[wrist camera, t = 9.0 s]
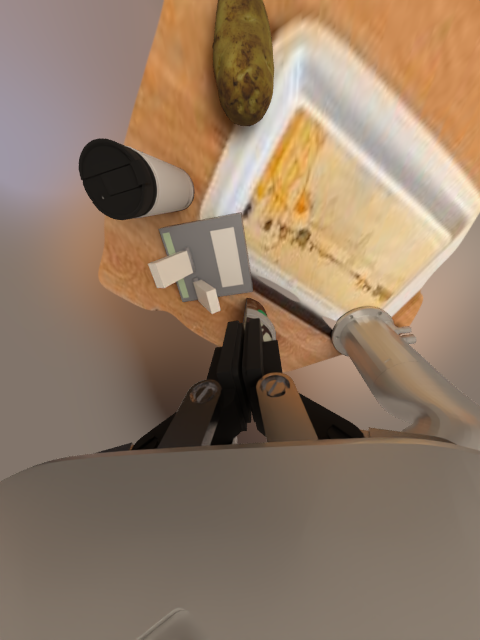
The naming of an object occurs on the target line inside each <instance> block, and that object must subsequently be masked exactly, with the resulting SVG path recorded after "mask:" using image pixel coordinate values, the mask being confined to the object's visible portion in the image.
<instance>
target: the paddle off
mask: <svg viewBox="0 0 480 640" xmlns="http://www.w3.org/2000/svg"><path fill="white" fill-rule="evenodd" d="M193 281H194V282H193V284H194V287H195V290H196V294H197V297H198V301H199V302H200V303H201V304H202V305H203V306H204V307H205V308H206V309H207V310H208V311H209V312H210V313H211V314H213V313H216V312H218V311H221V310H220V305H219V301H218V297H217V293H216V289H215V288H213V287H212V286H210V285H209V284H207V283H206V282H204V281H203V280H199V281H198V277H195V278H193Z"/></svg>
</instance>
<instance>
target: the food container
mask: <svg viewBox="0 0 480 640" xmlns="http://www.w3.org/2000/svg"><path fill="white" fill-rule="evenodd" d="M254 318H260V322H261V328H262V334H263V339H264V341H272V340H276V332H275V328H274V326H273V324H272V323H271V321H270V320H269V319H268V318H267V314H266V311H265V309H264V307H263V306H262V305H261V304H260V303H259V302H257V301H256V300H253V299H251V298H247V300H246V306H245V313H244V319H243V325H244V329H245V324H246V322H249V319H254Z"/></svg>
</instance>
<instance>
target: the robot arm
mask: <svg viewBox="0 0 480 640" xmlns="http://www.w3.org/2000/svg"><path fill="white" fill-rule="evenodd" d="M410 332H411V327H410V326H404V327H396V326H395V325H394V322H393V320H392V318H391V316H390V315H389V314H388V313H386V312H385V311H384V310H382V309H380V308H376V307H361V308H357V309H354V310H352V311H350V312H348V313H346V314H345V315H344V316H342V317H341V318H340V319H339V320H338V321H337V323H336V324H335V326H334V328H333V331H332V342H333V344H334V346H335V348H336V349H337V350H338V351H339V352H340V353H341V354H343V355H345V356H349V357H350V358H351V360H352V361H353V363H354V365H355V366H356V368H357V369H358V371H359V373H360V374H361V376H362V378H363V379H364V381H365V382H366V384H367V386H368V387H369V389H370V390H371V392H372V394H373V395H374V397H375V398H376V400H377V401H378V403H379V404H380V406H381V407H382V408H383V409H384V410H385V411H387V412H388V413H389V414H391V415H393V416H395V417H397V418H398V419H401V420H403V421H405V422H408V423H411V424H412V425H411V426H409V427H407V428H405V429H404V430H402V431H401V432H399V431H392V430H384V429H376V428H370V427H369V430H368V431H366V430H360V429H359V428H358V427H356V426H355V425H354V424H352V423H351V422H349V421H347V420H346V419H344V418H342V417H340V416H339V415H337V414H335V413H333V412H331V411H330V410H328V409H326V408H324V407H323V406H321V405H319V404H317V403H316V402H314V401H312V400H310V399H309V398H307V397H305V396H303V395H302V394H300V393H298V391H297V389H296V386H295V384H294V382H293V380H292V379H291V378H290V377H289V376H288V375H286V374H283V373H282V367H281V361H280V354H279V348H278V341H277V340H272V341H264V339H263V334H262V328H261V322H260V318H254V319H249V322H246V324H245V329H244V325H243V323H239V321H233V322H228V325H227V329H226V333H225V338H224V342H223V346H222V347H217V348H215V351H214V355H213V358H212V362H211V366H210V369H209V373H208V376H207V380H203V381H200V382H198V383H196V384H194V385H193V386H192V387H191V388H190V389H189V391H188V392H187V394H186V396H185V398H184V399H183V401H182V403H181V405H180V407H179V409H178V411H177V412H176V413H174V414H173V415H172V416H170V417H169V418H167V419H166V420H165V421H163V422H162V423H161V424H159V425H158V426H157V427H155V428H154V429H152V430H151V431H150V432H148V433H147V434H146V435H144V436H143V437H142V438H140V439H139V440H138V441H137V442H136V443H135V445H133V443H128V444H125V445H121V446H118V447H114V448H111V449H107V450H104V451H101V452H97V453H93V454H85V455H77V456H69V457H65V458H60V459H55V460H51V461H47V462H44V463H41V464H37V465H35V466H32V467H30V468H27V469H25V470H23V471H20V472H18V473H16V474H14V475H12V476H10V477H8V478H6V479H4V480H2V481H1V482H0V640H480V406H479V405H478V404H477V403H475V402H474V401H473V400H471V399H470V398H469V397H468V396H466V395H465V394H464V393H462V392H461V391H460V390H459V389H458V388H457V387H455V386H454V385H453V384H452V383H451V382H450V381H448V380H447V379H446V378H445V377H444V376H443V375H442V374H440V373H439V372H438V371H437V370H436V369H435V368H434V367H433V366H432V365H430V363H428V362H427V361H426V360H425V359H424V358H423V357H422V356H421V355H420V354H419V353H418V352H416V350H414V349H413V348H412V347H411V346H410V345H409V344H414V343H416V337H415V336H414V335H413V334H410V335H403V336H399V334H400V333H410ZM251 411H252V415H253V419H254V422H256V426H257V429H258V430H259V431H260V432H261V433H262V434H263V435H264V436H265V437H266V439H267V442H266V443H248V444H237V435H238V434H239V433H240V432H241V431H247V423H250V422H251Z"/></svg>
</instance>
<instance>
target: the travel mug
mask: <svg viewBox="0 0 480 640" xmlns="http://www.w3.org/2000/svg"><path fill="white" fill-rule="evenodd" d="M79 172H80V176H81V180H83V185H84V188H85V190H86V192H87V194H88V196H89V197H90V199H91V200H92V201H93V204H94V205H95V206H96V207H97V208H98V210H99V211H101V212H102V213H104V214H105V215H106V216H108V217H110V218H113V219H117V220H126V219H132V218H141V217H147V216H152V215H158V214H163V213H169V212H175V211H180V210H184V209H186V208H187V207H189V205H190V204H191V203H192V201H193V198H194V185H193V182H192V180H191V178H190V176H189V175H188V174H187V173H186V172H185V171H184V170H182V169H181V168H178V167H176V166H174V165H171V164H169V163H167V162H164V161H162V160H159V159H157V158H155V157H152V156H150V155H148V154H145V153H143V152H140V151H138V150H136V149H133V148H131V147H128V146H125V145H122V144H119V143H117V142H115V141H112V140H109V139H96V140H92V141H91V142H89V143H88V144H87V145H86V146H85V147H84V149H83V151H82V153H81V155H80V159H79Z"/></svg>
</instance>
